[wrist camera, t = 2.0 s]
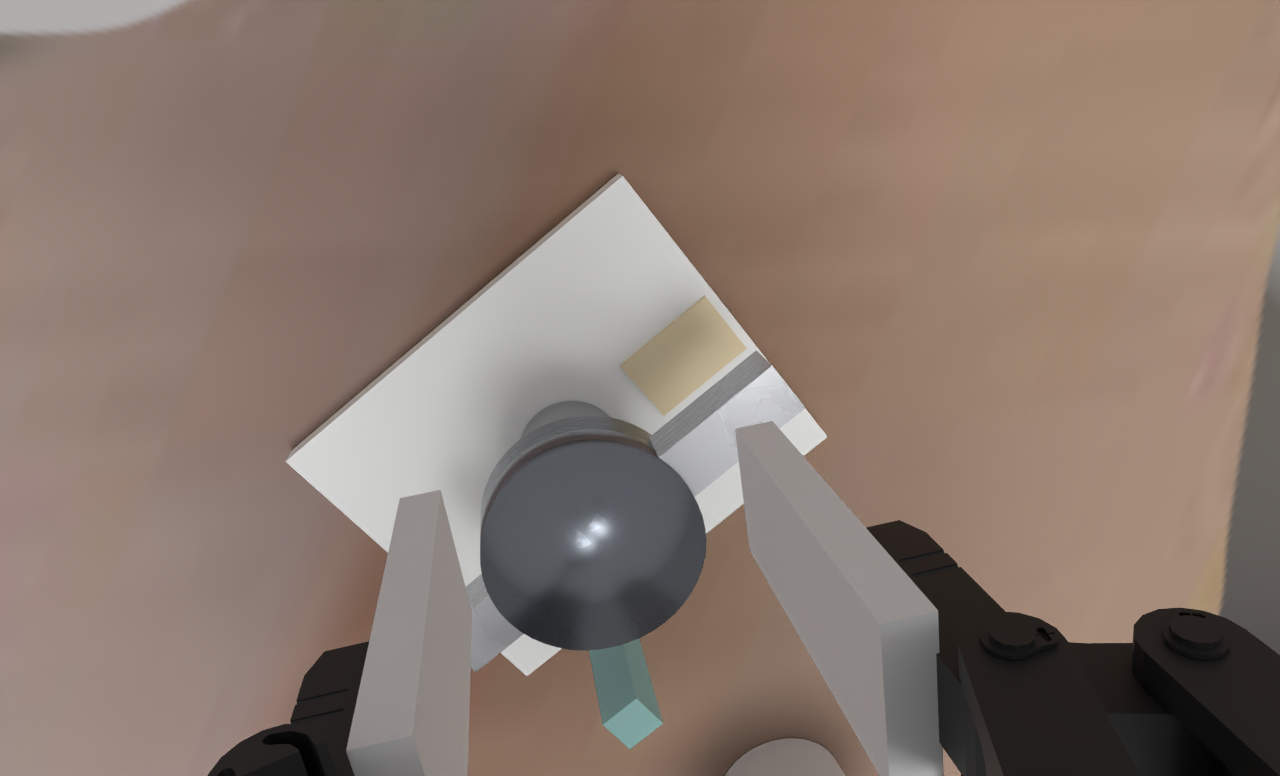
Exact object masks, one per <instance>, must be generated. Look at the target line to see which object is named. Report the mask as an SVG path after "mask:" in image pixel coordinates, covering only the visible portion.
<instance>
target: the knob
mask: <svg viewBox="0 0 1280 776" xmlns="http://www.w3.org/2000/svg"><path fill="white" fill-rule="evenodd" d="M804 409H805V407H804V405H803V404H802V403H801V402H800V400H799V399H798V398H797V396H796V395H795V394H794V393H793V391H792V390H791V389H790V388H789V386H788V385H787V384H786V382H785V381H784V380H783V379H782V377H781V376H780V375H779V374H778V372H777V371H776V370H775V368H774V367H773V366H772V365H771V364H770V363H769V362H768V361H767V360H766V359H765V358H764V357H763V356H762V355H761V354H760V353H759V352H758V351H755V352H753V353H752V354H751V355H750V356H749V357H747V358H746V359H745V360H744V361H742V362H741V363H740V364H739V365H737V366H736V367H735V368H734V369H733V370H731V371H730V372H729V373H728V374H726V375H725V376H724V377H723V378H721V379H720V380H719V381H718V382H717V383H715V384H714V385H713V386H712V387H710V388H709V389H708V390H707V391H706V392H704V393H703V394H702V395H701V396H699V397H698V398H697V399H696V400H694V401H693V402H692V403H691V404H690V405H688V406H687V407H686V408H685V409H683V410H682V411H681V412H680V413H678V414H677V415H676V416H675V417H674V418H672V419H671V420H670V421H669V422H667V423H666V424H665V425H664V426H663V427H661V428H660V429H659V430H658V431H656V432H655V433H654V434H653V435H651V434H650V433H648V432H647V431H645V430H643V429H641V428H640V427H638V426H636V425H634V424H631V423H628V422H626V421H623V420H619V419H615V418H611V417H603V416H577V417H570V418H565V419H561V420H558V421H554V422H551V423H549V424H546V425H544V426H541V427H539V428H538V429H536V430H534V431H532V432H530V433H528V434H527V435H526V436H524V437H523V438H522V439H520V440H519V441H517V442H516V443H515V444H514V445H513V446H512V447H511V448H510V449H509V450H508V451H507V452H506V453H505V454H504V455H503V457H502V458H501V459H500V460H499V461H498V463H497V465H496V466H495V468H494V469H493V471H492V473H491V475H490V477H489V479H488V481H487V484H486V486H485V490H484V493H483V497H482V504H481V523H480V566H481V572H482V574H481V575H479V576H478V577H477V578H476V579H474V580H473V581H472V582H471V583H470V584H468V585H467V586H466V591H467V595H468V599H469V602H470V606H471V610H472V632H471V668H472V669H473V670H474V671H475V672H477V671H478V670H479V669H481V668H482V667H483V666H484V665H486V664H487V663H488V662H489V661H491V660H492V659H493V658H494V657H496V656H497V655H498V654H499V653H501V652H502V651H503V650H504V649H506V648H507V647H508V646H509V645H511V644H512V643H513V642H514V641H516V640H517V639H518V638H519V637H521V636H522V635H523V634H525V635H527V636H529V637H530V638H532V639H535V640H537V641H539V642H542V643H544V644H547V645H551V646H554V647H558V648H564V649H570V650H600V649H605V648H611V647H615V646H619V645H622V644H626V643H629V642H631V641H633V640H636V639H638V638H641V637H642V636H644V635H646V634H648V633H650V632H652V631H653V630H655V629H656V628H658V627H659V626H660V625H662V624H663V623H665V622H666V621H667V620H668V619H669V618H670V617H671V616H672V615H674V614H675V613H676V612H677V610H678V609H679V608H680V607H681V606H682V605H683V604H684V602H685V601H686V599H687V598H688V597H689V595H690V594H691V592H692V590H693V589H694V587H695V585H696V583H697V581H698V579H699V576H700V573H701V570H702V568H703V563H704V559H705V552H706V530H705V525H704V520H703V516H702V513H701V511H700V508H699V506H698V503H697V501H696V499H695V496H696V495H698V494H699V493H700V492H701V491H703V490H704V489H705V488H706V487H708V486H709V485H710V484H711V483H713V482H714V481H715V480H716V479H718V478H719V477H720V476H721V475H723V474H724V473H725V472H726V471H727V470H729V469H730V468H731V467H732V466H734V465H735V464H736V463H737V462H739V459H738V450H737V442H736V434H735V429H736V428H741V427H745V426H750V425H755V424H760V423H765V422H770V421H773V422H774V423H775V424H776V426H777V427H778V428H779V429H780V428H781V427H782V426H784V425H785V424H786V423H787V422H789V421H790V420H791V419H792V418H794V417H795V416H796V415H797V414H799V413H800V412H801V411H802V410H804Z"/></svg>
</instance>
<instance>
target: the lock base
mask: <svg viewBox="0 0 1280 776" xmlns="http://www.w3.org/2000/svg"><path fill="white" fill-rule="evenodd" d="M755 351H758V352H759V353H760V354H761V355H762V356H763V357H764V358H765V356H764V355H763V354H762V353H761V351H760V350H759V349H758V348H757V346H756V345H755V344H754V342H753V341H752V340H751V339H750V337H749V336H748V335H747V334H746V332H745V331H744V330H743V328H742V327H741V326H740V325H739V323H738V322H737V321H736V320H735V318H734V317H733V316H732V314H731V313H730V312H729V311H728V309H727V308H726V307H725V306H724V304H723V303H722V302H721V300H720V299H719V298H718V297H717V295H716V294H715V293H714V292H713V290H712V289H711V288H710V286H709V285H708V284H707V283H706V281H705V280H704V279H703V277H702V276H701V275H700V274H699V272H698V271H697V270H696V269H695V267H694V266H693V265H692V263H691V262H690V261H689V260H688V258H687V257H686V256H685V255H684V253H683V252H682V251H681V249H680V248H679V247H678V246H677V244H676V243H675V242H674V241H673V239H672V238H671V237H670V235H669V234H668V233H667V232H666V230H665V229H664V228H663V227H662V225H661V224H660V223H659V221H658V220H657V219H656V218H655V216H654V215H653V214H652V213H651V211H650V210H649V209H648V207H647V206H646V205H645V204H644V202H643V201H642V200H641V199H640V197H639V196H638V195H637V193H636V192H635V191H634V190H633V188H632V187H631V186H630V184H629V183H628V182H627V181H626V179H625V178H624V177H623V176H622V175H620V174H619V173H618V174H617V175H616V176H614V177H613V178H612V179H611V180H610V181H609V182H607V183H606V184H605V185H604V186H603V187H601V188H600V189H599V190H598V191H597V192H596V193H594V194H593V195H592V196H591V197H590V198H589V199H587V200H586V201H585V202H584V203H583V204H581V205H580V206H579V207H578V208H577V209H576V210H574V211H573V212H572V213H571V214H570V215H568V216H567V217H566V218H565V219H564V220H563V221H561V222H560V223H559V224H558V225H557V226H555V227H554V228H553V229H552V230H551V231H550V232H548V233H547V234H546V235H545V236H544V237H543V238H541V239H540V240H539V241H538V242H537V243H535V244H534V245H533V246H532V247H531V248H530V249H528V250H527V251H526V252H525V253H524V254H522V255H521V256H520V257H519V258H518V259H517V260H515V261H514V262H513V263H512V264H511V265H510V266H508V267H507V268H506V269H505V270H504V271H502V272H501V273H500V274H499V275H498V276H497V277H495V278H494V279H493V280H492V281H491V282H489V283H488V284H487V285H486V286H485V287H484V288H482V289H481V290H480V291H479V292H478V293H476V294H475V295H474V296H473V297H472V298H471V299H469V300H468V301H467V302H466V303H465V304H464V305H462V306H461V307H460V308H459V309H458V310H456V311H455V312H454V313H453V314H452V315H451V316H449V317H448V318H447V319H446V320H445V321H443V322H442V323H441V324H440V325H439V326H438V327H436V328H435V329H434V330H433V331H432V332H431V333H429V334H428V335H427V336H426V337H425V338H423V339H422V340H421V341H420V342H419V343H418V344H416V345H415V346H414V347H413V348H412V349H410V350H409V351H408V352H407V353H406V354H405V355H403V356H402V357H401V358H400V359H399V360H397V361H396V362H395V363H394V364H393V365H392V366H390V367H389V368H388V369H387V370H386V371H385V372H383V373H382V374H381V375H380V376H379V377H377V378H376V379H375V380H374V381H373V382H372V383H370V384H369V385H368V386H367V387H366V388H364V389H363V390H362V391H361V392H360V393H359V394H357V395H356V396H355V397H354V398H353V399H352V400H350V401H349V402H348V403H347V404H346V405H344V406H343V407H342V408H341V409H340V410H339V411H337V412H336V413H335V414H334V415H333V416H331V417H330V418H329V419H328V420H327V421H326V422H324V423H323V424H322V425H321V426H320V427H318V428H317V429H316V430H315V431H314V432H313V433H311V434H310V435H309V436H308V437H307V438H306V439H304V440H303V441H302V442H301V443H300V444H298V445H297V446H296V447H295V448H294V449H293V450H292V451H291V452H290V454H289V456H288V458H287V460H286V462H287V463H288V464H289V465H290V466H291V467H292V468H293V469H294V470H296V471H297V472H298V473H299V474H300V475H301V476H302V477H303V478H305V479H306V480H307V481H308V482H309V483H310V484H311V485H312V486H314V487H315V488H316V489H317V490H318V491H319V492H320V493H321V494H323V495H324V496H325V497H326V498H327V499H328V500H329V501H330V502H332V503H333V504H334V505H335V506H336V507H337V508H338V509H339V510H341V511H342V512H343V513H344V514H345V515H346V516H347V517H348V518H350V519H351V520H352V521H353V522H354V523H355V524H356V525H357V526H359V527H360V528H361V529H362V530H363V531H364V532H365V533H366V534H368V535H369V536H370V537H371V538H372V539H373V540H374V541H375V542H377V543H378V544H379V545H380V546H381V547H382V548H383V549H384V550H386V551H387V552H388V551H389V546H390V542H391V537H392V532H393V528H394V523H395V518H396V514H397V509H398V504H399V499H400V498H403V497H408V496H413V495H418V494H422V493H427V492H432V491H437V490H441V493H442V497H443V501H444V505H445V509H446V513H447V516H448V520H449V524H450V528H451V532H452V536H453V540H454V544H455V548H456V552H457V556H458V559H459V563H460V567H461V571H462V575H463V579H464V583H465V587H466V586H467V585H468V584H470V583H471V582H472V581H473V580H474V579H476V578H477V577H478V576H479V575H481V574H482V572H481V566H480V523H481V504H482V497H483V493H484V490H485V486H486V484H487V481H488V479H489V477H490V475H491V473H492V471H493V469H494V468H495V466H496V465H497V463H498V461H499V460H500V459H501V458H502V457H503V455H504V454H505V453H506V452H507V451H508V450H509V449H510V448H511V447H512V446H513V445H514V444H515V443H516V442H517V441H519V440H520V439H522V438H523V437H524V436H526V435H527V434H528V433H530V432H532V431H534V430H536V429H538V428H539V427H541V426H544V425H546V424H549V423H551V422H554V421H558V420H561V419H565V418H570V417H577V416H603V417H611V418H615V419H619V420H623V421H626V422H628V423H631V424H634V425H636V426H638V427H640V428H641V429H643V430H645V431H647V432H648V433H650V434H651V435H653V434H654V433H655V432H656V431H658V430H659V429H660V428H661V427H663V426H664V425H665V424H666V423H667V422H669V421H670V420H671V419H672V418H674V417H675V416H676V415H677V414H678V413H680V412H681V411H682V410H683V409H685V408H686V407H687V406H688V405H690V404H691V403H692V402H693V401H694V400H696V399H697V398H698V397H699V396H701V395H702V394H703V393H704V392H706V391H707V390H708V389H709V388H710V387H712V386H713V385H714V384H715V383H717V382H718V381H719V380H720V379H721V378H723V377H724V376H725V375H726V374H728V373H729V372H730V371H731V370H733V369H734V368H735V367H736V366H737V365H739V364H740V363H741V362H742V361H744V360H745V359H746V358H747V357H749V356H750V355H751V354H752V353H753V352H755ZM765 359H766V358H765ZM766 360H767V359H766ZM767 361H768V360H767ZM780 430H781V431H782V432H783V434H784V435H785V436H786V437H787V438H788V439H789V440H790V442H791V443H792V444H793V445H794V446H795V447H796V448H797V450H798V451H799V452H800V453H801V454H802V455H803V456H804V455H805V454H807V453H808V452H809V451H810V450H812V449H813V448H814V447H815V446H817V445H818V444H819V443H820V442H822V441H823V440H824V439H825V438H827V435H826V434H825V433H824V432H823V430H822V429H821V428H820V427H819V425H818V424H817V423H816V421H815V420H814V419H813V418H812V416H811V415H810V414H809V413H808V411H807V410H806V409H804V410H802V411H801V412H800V413H799V414H797V415H796V416H795V417H794V418H792V419H791V420H790V421H789V422H787V423H786V424H785V425H784V426H782V427H781V428H780ZM695 499H696V501H697V503H698V506H699V508H700V511H701V513H702V516H703V520H704V525H705V530H706V533H708V532H709V531H710V530H711V529H713V528H714V527H715V526H716V525H718V524H719V523H720V522H721V521H723V520H724V519H725V518H726V517H728V516H729V515H730V514H731V513H733V512H734V511H735V510H736V509H738V508H739V507H740V506H741V505H743V504H744V500H743V492H742V484H741V475H740V467H739V462H737V463H736V464H735V465H734V466H732V467H731V468H730V469H729V470H727V471H726V472H725V473H724V474H723V475H721V476H720V477H719V478H718V479H716V480H715V481H714V482H713V483H711V484H710V485H709V486H708V487H706V488H705V489H704V490H703V491H701V492H700V493H699V494H698V495H696V496H695ZM561 649H562V648H558V647H554V646H551V645H547V644H544V643H542V642H539V641H537V640H535V639H532V638H530V637H529V636H527V635H525V634H523V635H522V636H521V637H519V638H518V639H517V640H516V641H514V642H513V643H512V644H511V645H509V646H508V647H507V648H506V649H504V650H503V651H502V652H501V654H502V655H504V656H505V657H506V658H507V659H508V660H509V661H510V662H511V663H513V664H514V665H515V666H516V667H517V668H518V669H519V670H520V671H522V672H523V673H524V674H525V675H526V676H528V675H529V674H531V673H532V672H533V671H534V670H536V669H537V668H538V667H539V666H541V665H542V664H543V663H544V662H546V661H547V660H548V659H549V658H551V657H552V656H553V655H554V654H556V653H557V652H558V651H559V650H561ZM589 653H590V659H591V664H592V669H593V675H594V680H595V686H596V691H597V696H598V702H599V707H600V713H601V718H602V724H603V726H604V727H606V728H607V729H608V730H609V731H610V732H611V733H612V734H613V735H614V736H616V737H617V738H618V739H619V740H620V741H621V742H622V743H623V744H624V745H626V746H627V747H628V748H629V749H631V748H632V747H634V746H635V745H636V744H637V743H639V742H640V741H641V740H643V739H644V738H645V737H646V736H648V735H649V734H650V733H652V732H653V731H654V730H655V729H657V728H658V727H659V726H661V725H662V724H663V721H662V718H661V714H660V711H659V707H658V704H657V700H656V696H655V693H654V689H653V686H652V682H651V679H650V675H649V671H648V668H647V664H646V661H645V657H644V654H643V650H642V647H641V643H640V639H639V638H638V639H636V640H633V641H631V642H629V643H626V644H622V645H619V646H615V647H611V648H605V649H600V650H589Z"/></svg>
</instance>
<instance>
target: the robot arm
mask: <svg viewBox="0 0 1280 776" xmlns="http://www.w3.org/2000/svg"><path fill="white" fill-rule="evenodd" d="M735 434H736V442H737V450H738V459H739V467H740V475H741V484H742V492H743V500H744V509H745V517H746V525H747V534H748V542H749V550H750V552H751V554H752V556H753V557H754V559H755V561H756V562H757V564H758V566H759V568H760V569H761V571H762V573H763V575H764V576H765V578H766V580H767V582H768V583H769V585H770V587H771V589H772V590H773V592H774V594H775V595H776V597H777V599H778V601H779V602H780V604H781V606H782V608H783V609H784V611H785V613H786V615H787V616H788V618H789V620H790V621H791V623H792V625H793V627H794V628H795V630H796V632H797V634H798V635H799V637H800V639H801V641H802V642H803V644H804V646H805V648H806V649H807V651H808V653H809V654H810V656H811V658H812V660H813V661H814V663H815V665H816V667H817V668H818V670H819V672H820V674H821V675H822V677H823V679H824V680H825V682H826V684H827V686H828V687H829V689H830V691H831V693H832V694H833V696H834V698H835V700H836V701H837V703H838V705H839V706H840V708H841V710H842V712H843V713H844V715H845V717H846V719H847V720H848V722H849V724H850V726H851V727H852V729H853V731H854V733H855V734H856V736H857V738H858V739H859V741H860V743H861V745H862V746H863V748H864V750H865V752H866V753H867V755H868V757H869V759H870V760H871V762H872V764H873V765H874V767H875V769H876V771H877V772H878V774H879V776H944V774H943V748H944V749H945V751H946V752H947V754H948V755H949V757H950V758H951V760H952V761H953V762H954V764H955V765H956V767H957V768H958V770H959V771H960V772H961V776H1280V655H1279V654H1277V653H1276V652H1275V651H1273V650H1272V649H1271V648H1270V647H1268V646H1267V645H1265V644H1264V643H1263V642H1262V641H1260V640H1259V639H1258V638H1256V637H1255V636H1254V635H1252V634H1251V633H1250V632H1248V631H1247V630H1246V629H1244V628H1242V627H1240V626H1239V625H1237V624H1235V623H1234V622H1232V621H1230V620H1228V619H1227V618H1224V617H1221V616H1218V615H1214V614H1211V613H1208V612H1205V611H1201V610H1194V609H1185V608H1169V609H1158V610H1155V611H1153V612H1150V613H1147V614H1145V615H1142V616H1141V618H1140V619H1139V620H1138V621H1137V622H1136V623H1135V624H1134V632H1133V643H1091V644H1087V643H1070V642H1068V641H1067V640H1066V639H1065V637H1064V636H1063V635H1062V634H1061V633H1060V632H1059V631H1058V630H1057V628H1055V627H1053V626H1052V625H1050V624H1048V623H1046V622H1044V621H1043V620H1041V619H1039V618H1035V617H1032V616H1028V615H1025V614H1021V613H1013V612H1005V611H1004V610H1003V609H1002V608H1001V607H1000V606H999V605H998V604H997V603H996V602H995V601H994V600H993V599H992V598H991V597H990V596H989V595H988V594H987V593H986V592H985V591H984V590H983V589H982V588H981V587H980V586H979V585H978V584H977V583H976V582H975V581H974V580H973V579H972V578H971V577H970V576H969V575H968V574H967V573H966V572H965V571H964V570H963V569H962V568H961V567H959V568H958V565H957V563H956V562H955V561H954V560H953V559H952V558H951V557H950V556H949V555H948V554H947V553H944V551H943V549H942V548H941V547H940V546H939V545H938V544H937V543H936V542H935V541H934V540H933V539H932V538H931V537H930V536H929V535H928V534H927V533H926V532H924V531H922V530H920V529H917V528H915V527H913V526H911V525H909V524H906V523H904V522H902V521H900V520H898V521H894V522H889V523H885V524H880V525H876V526H871V527H867V528H866V527H865V526H864V525H863V524H862V523H861V522H860V520H859V519H858V518H857V517H856V516H855V515H854V514H853V512H852V511H851V510H850V509H849V508H848V507H847V506H846V504H845V503H844V502H843V501H842V500H841V499H840V498H839V496H838V495H837V494H836V493H835V492H834V491H833V490H832V488H831V487H830V486H829V485H828V484H827V483H826V482H825V480H824V479H823V478H822V477H821V476H820V475H819V474H818V472H817V471H816V470H815V469H814V468H813V467H812V466H811V464H810V463H809V462H808V461H807V460H806V459H805V458H804V456H803V455H802V454H801V453H800V452H799V451H798V450H797V448H796V447H795V446H794V445H793V444H792V443H791V442H790V440H789V439H788V438H787V437H786V436H785V435H784V434H783V432H782V431H781V430H780V429H779V428H778V427H777V426H776V424H775V423H774V422H773V421H770V422H765V423H760V424H755V425H750V426H745V427H741V428H736V429H735ZM471 632H472V610H471V606H470V602H469V599H468V595H467V591H466V587H465V583H464V579H463V575H462V571H461V567H460V563H459V559H458V556H457V552H456V548H455V544H454V540H453V536H452V532H451V528H450V524H449V520H448V516H447V513H446V509H445V505H444V501H443V497H442V493H441V490H437V491H432V492H427V493H422V494H418V495H413V496H408V497H403V498H400V499H399V504H398V509H397V514H396V518H395V523H394V528H393V532H392V537H391V542H390V546H389V551H388V556H387V561H386V565H385V570H384V575H383V579H382V584H381V589H380V594H379V598H378V603H377V608H376V612H375V617H374V622H373V626H372V631H371V636H370V641H369V642H365V643H360V644H356V645H351V646H347V647H342V648H338V649H333V650H329V651H325V652H324V653H323V654H322V655H321V656H320V658H319V659H318V660H317V661H316V662H315V664H314V665H313V666H312V667H311V668H310V670H309V671H308V672H307V673H306V674H305V676H304V679H303V682H302V685H301V688H300V691H299V695H298V698H297V705H295V707H294V711H293V714H292V717H291V720H290V721H291V724H284V725H280V726H277V727H273V728H270V729H266V730H263V731H261V732H259V733H257V734H255V735H253V736H251V737H249V738H247V739H245V740H244V741H242V742H240V743H239V744H237V745H236V746H235V747H234V748H232V749H231V750H230V751H229V752H227V753H226V754H225V755H224V756H223V757H221V758H220V760H219V761H218V762H217V764H216V765H215V766H214V768H213V769H212V770H211V772H210V773H209V774H208V776H468V744H469V707H470V670H471Z"/></svg>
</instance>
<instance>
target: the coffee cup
mask: <svg viewBox="0 0 1280 776" xmlns="http://www.w3.org/2000/svg"><path fill="white" fill-rule="evenodd" d="M725 776H846V775H845V774H844V772H843V771H842V769H841V768H840V766H839V765H838V763H837V761H836V760H835V758H834V757H833V755H832V754H831V753H830V752H829V751H828V750H827V749H825V748H824V747H823V746H821V745H819V744H817V743H815V742H812V741H809V740H805V739H798V738H786V739H778V740H774V741H770V742H767V743H764V744H761V745H759V746H757V747H755V748H753V749H751V750H750V751H748V752H747V753H745V754H744V755H743V756H741V757H740V758H739V759H738V760H737V761H736V762H735V763H734V764H733V765H732V766H731V768H730V769H729V770H728V772H727V773H726V775H725Z"/></svg>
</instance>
